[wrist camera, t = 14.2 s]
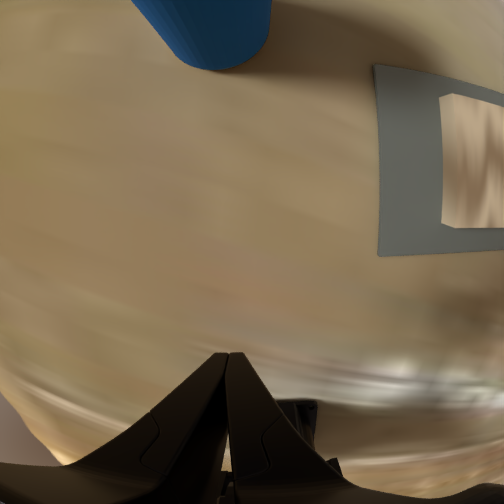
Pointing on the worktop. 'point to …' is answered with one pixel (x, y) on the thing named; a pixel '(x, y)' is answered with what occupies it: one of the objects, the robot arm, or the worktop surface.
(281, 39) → the worktop surface
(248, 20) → the beverage can
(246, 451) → the robot arm
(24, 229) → the worktop surface
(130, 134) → the worktop surface
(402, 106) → the mat
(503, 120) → the rectangular block
